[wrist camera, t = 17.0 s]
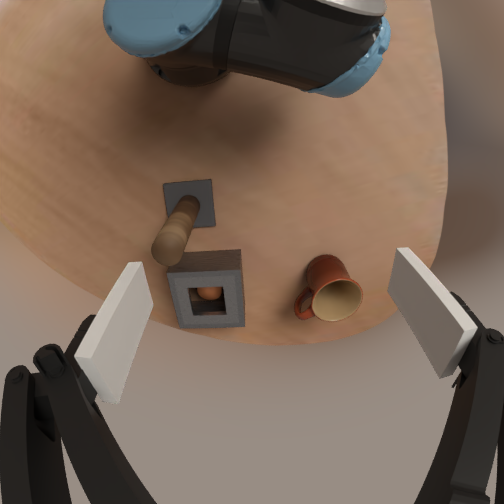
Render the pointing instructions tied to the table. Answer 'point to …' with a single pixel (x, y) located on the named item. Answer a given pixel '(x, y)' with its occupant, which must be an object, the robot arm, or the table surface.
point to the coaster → (194, 188)
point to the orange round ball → (209, 292)
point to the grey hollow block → (208, 275)
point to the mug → (329, 291)
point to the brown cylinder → (176, 231)
